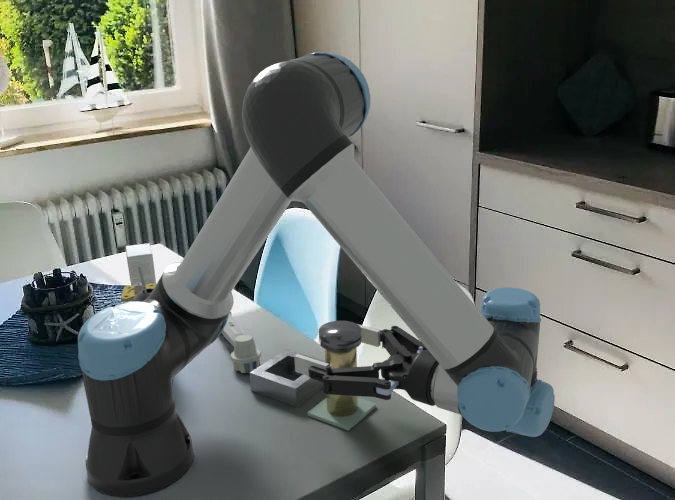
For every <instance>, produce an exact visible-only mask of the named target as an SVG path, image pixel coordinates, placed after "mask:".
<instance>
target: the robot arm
mask: <svg viewBox="0 0 675 500" xmlns="http://www.w3.org/2000/svg"><path fill="white" fill-rule="evenodd" d="M367 81H368V80H367V79H366V77H365V75H364V74H363V72H362V71H361V70H360V68H359V66H357V65H356V64H355V63H354V62H353V61H351V60H350V59H348V58H347V57H345V56H342V55H340V54H337V53H331V52H321V51H319V52H318V51H317V52H312V53H307V54H306V55H304V56H301V57H298V58H293V59H290V60H286V61H281V62H277V63H274V64H272V65H270V66H267V67H265V68H264V69H263V70H262V71H260V72H259V73H258V74H257V75H256V76H255V77H254V79H252V81H251V83H250V84H249V85H248V87H247V90H246V92H245V94H244V98H243V101H242V106H241V119H242V126H243V131H244V134H245V136H246V139H247V142H248V145H249V146H250V147H249V150H247V153H246V155H244V158H243V159H242V160H241V163H240V164H239V166H238V168H237V169H236V171H235V173H234V174H233V176H232V178H231V179H230V181H229V182H228V184H227V186H226V188H225V189H224V191H223V193H222V194H221V196H220V198H219V199H218V201H217V203H216V204H215V206H214V208H213V209H212V211H211V213H210V214H209V216H208V218H207V219H206V221H205V222H204V224H203V226H202V228H201V229H200V231H199V233H198V235H197V236H196V237H195V239H194V241H193V242H192V244H191V246H190V247H189V249H188V250H187V252H186V254H185V255H184V258H183V259H182V261H177V262H173V263H171V264H169V265H168V266H167V267H166V268H165V270H164V271H163V272H162V274H161V276H160V277H159V280H158V281H157V282H156V286H155V288H154V289H153V291H152V292H151V294H150V295H149V296H148V297H147V298H146V299H145V300H144V301H143V302H139V301H133V300H132V301H133V302H132V301H125V302H121V303H117V304H115V306H113V307H110V306H108V307H105V308H103V309H101V310H99V311H98V312H96V313H94V314H93V315H92V316H90V317H89V318H88V319H87V320H86V321H85V322H84V323H83V324H82V326H81V327H80V329H79V331H78V335H77V345H78V346H77V349H78V357H77V358H78V363H79V364H78V365H79V367H80V370H81V374H82V376H81V377H82V381H83V386H84V391H85V397H86V402H87V407H88V412H89V417H90V421H91V422H90V423H91V431H90V437H89V441H88V443H89V444H88V451H87V452H86V457H85V468H86V469H85V470H86V475H87V479H88V482H89V484H90V485H91V487H92V488H94V489H95V490H97V491H98V492H100V493H102V494H105V495H108V496H114V497H121V498H122V497H123V498H124V497H136V496H143V495H148V494H151V493H154V492H157V491H160V490H162V489H165V488H167V487H168V486H170V485H172V484H173V483H175V482H176V481H178V480H179V479H181V478H182V477H183V476H184V475H185V474H186V473H187V472H188V470H189V469H190V467H191V466H192V464H193V462H194V456H195V454H194V453H195V452H194V445H193V440H192V437H191V434H190V433H189V431H188V429H187V427H186V425H185V423H184V421H183V420H182V418H181V416H180V415H179V413H178V411H177V408H176V401H175V396H174V389H173V388H174V386H173V379H174V378H175V377H176V376H177V375H179V373H180V372H182V370H184V369H185V367H187V365H189V364H190V363H191V362H192V361H193V360H194V359H196V357H197V356H199V355H200V353H202V352H203V351H204V350H205V349H206V348H207V347H209V346H210V345H211V344H213V343H214V342H215V341H216V340H217V339H219V336H221V335H222V333H221V332H222V331H223V329H224V327H225V325H226V323H227V321H228V317H229V312H232V309H233V306H234V295H233V292H232V291H233V290H234V289H235V286H237V284H238V283H239V281H240V280H241V278H242V276H243V275H244V274H245V272H246V270H247V269H248V267H249V266H250V264H251V263H252V261H253V260H254V259H255V257H256V255H257V253H258V252H259V251H260V249H261V247H262V246H263V245H264V243H265V242H266V240H267V238H269V235H270V234H271V233H272V231H273V230H274V229H275V227H276V225H277V224H278V222H279V221H280V219H281V218H282V216H283V214H284V213H285V211H286V210H287V208H288V207H289V206H290V204H291V202H299V203H300V202H301V203H303V204H304V205H305V206H306V208H307V209H308V210H309V212H311V214H312V215H313V216H314V217H315V218H316V220H317V221H318V222H319V223H320V224H321V225H322V226H323V228H324V229H325V230H326V231H327V232H328V234H329V235H330V236H331V237H332V238H333V239H334V241H335V242H336V243H337V244H338V245H339V247H340V248H341V250H343V252H344V253H345V254H346V255H347V256H348V258H349V259H351V261H352V262H353V263H354V264H355V266H356V267H357V268H358V269H359V270H360V271H361V273H362V274H363V275H364V276H365V277H366V278H367V280H368V281H369V282H370V283H371V285H372V286H373V287H374V288H375V290H376V291H378V293H379V294H380V295H381V296H382V297H383V299H384V300H385V301H386V302H387V304H388V305H390V307H391V308H392V309H393V310H394V311H395V312H396V314H397V315H398V317H400V319H401V320H402V321H403V322H404V323H405V324H406V326H407V327H408V328H409V329H410V331H411V332H412V333H413V334H414V335H415V336H413V335H411V334H410V333H408V332H407V331H406V330H404V329H403V328H401V327H399V326H397V325H392V326H391V327H390V328H391V329H387V328H384V329H378V328H374V327H370V326H365V325H362V324H358V323H357V324H358V325H359V326H360V327H361V344H366V345H368V346H369V345H370V346H372V347H375V348H376V347H377V348H378V347H380V346H381V348H382V349H385V351H387V353H388V354H389V356H388V358H387V359H385V360H384V361H381V362H375V363H374V362H373V364H372V365H366V366H364V365H363V366H357V367H349V368H334V369H332V365H331V364H328V363H324V362H321V361H318V360H315V359H312V358H309V357H305V356H302V355H299V354H297V355H295V356H294V359H295V372H298V373H301V374H304V375H307V376H309V377H310V378H312V379H315V380H318V381H321V382H323V388H322V390H323V394H324V395H326V394H331V395H348V396H358V397H366V398H367V397H368V398H370V397H372V398H377V399H380V400H384V401H390V400H391V398H392V392H393V391H394V390H403V391H405V392H406V394H407V395H408V397H409V398H410V399H412V400H413V401H415V402H418V403H421V404H425V405H428V406H431V407H434V406H435V407H436V408H438V409H442V410H445V411H448V412H450V413H451V412H452V413H454V414H458V415H461V416H462V417H463V418H464V419H465V420H466V421H467V422H468V424H470V425H472V426H473V427H475V428H477V429H480V430H482V431H486V432H492V433H493V432H502V431H506V432H507V433H509V432H510V433H513V434H518V435H520V436H527V437H530V438H536V437H540V436H541V435H542V434H543V433H545V431H546V430H547V428H548V426H549V424H550V422H551V419H552V415H553V411H554V406H555V396H556V395H555V393H554V391H555V390H554V387H553V386H552V385H551V384H550V383H548V382H546V381H544V380H542V379H538V368H537V363H538V362H537V361H538V353H539V344H540V343H539V341H540V328H541V322H542V318H541V302H540V299H539V298H538V296H537V295H535V294H534V293H533V292H531V291H529V290H526V289H522V288H520V287H506V286H505V287H498V288H493V289H491V290H488V291H487V292H485V293H484V295H483V296H482V298H481V307H480V309H479V308H478V307H477V305H475V303H473V301H472V300H471V298H470V297H468V295H467V294H466V293H465V292H464V290H463V289H462V287H461V286H460V285H459V284H458V283H457V282H456V280H455V279H454V278H453V277H452V276H451V274H450V273H449V272H448V270H447V269H446V268H445V267H444V266H443V265H442V264H441V262H440V260H438V259H437V257H436V256H435V255H434V254H433V253H432V251H431V250H430V249H429V248H428V247H427V246H426V244H425V242H424V241H423V240H422V239H421V238H420V237H419V236H418V235H417V233H416V231H414V230H413V229H412V227H411V226H410V225H409V224H408V222H407V221H406V220H405V219H404V218H403V216H402V215H401V214H400V213H399V212H398V210H397V209H396V208H395V207H394V205H392V203H391V202H390V200H389V199H388V198H387V197H386V196H385V195H384V193H382V191H381V190H380V189H379V187H378V186H377V184H375V183H374V181H373V180H372V179H371V178H370V177H369V175H368V174H367V173H366V172H365V171H364V169H363V168H362V167H361V166H360V165H359V163H358V162H357V161H356V159H355V144H354V143H353V142H352V141H351V140H350V137H351V136H353V135H355V134H356V133H357V132H359V131H360V130H361V128H362V127H363V125H364V123H365V122H366V120H367V118H368V115H369V112H370V109H371V94H370V88H369V84H368V82H367ZM335 375H336V376H335ZM380 376H381V377H380Z"/></svg>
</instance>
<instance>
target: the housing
mask: <svg viewBox="0 0 675 500" xmlns="http://www.w3.org/2000/svg"><path fill="white" fill-rule="evenodd" d="M297 354H299V355H302V356H305V357H309V358H312V359H315V360H318V361H321V362H324V363H325V360H323V359H319V358H317V357H314V356H310V355H307V354H304V353H300V352H298V351H294V350H291V349H287V348H286V349H285V350H283V351H281V352H280V353H278V354H276V355H275V356H273V357H272V358H270V359H268V360H267V361H266V362H263V363H262V364H260V366H259V367H258V368H256V369H254V370H253V371H251V372H250V373H249V382H250V391H251V392H254V393H257V394H260V395H262V396H264V397H268V398H269V399H273V400H276V401H279V402H281V403H284V404H287V405H290V406H291V407H292V406H293V407H295V408H298V407H299V406H301V405H303V404H304V402H306V401H307V400H309V399H310V398H312V396H314V395H315V394H316V393H318V392H320V391H321V390H323V382H321V381H318V380H315V379H312V378H310V377H309V376H307V375H304V374H301V373H298V372H295V359H294V356H295V355H297ZM288 374H292V375H294V376H298V378H296V379H295V380H291V379H288V378H286V377H285V376H286V375H288Z"/></svg>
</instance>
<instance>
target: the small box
mask: <svg viewBox="0 0 675 500" xmlns="http://www.w3.org/2000/svg"><path fill="white" fill-rule="evenodd" d="M125 252H126V260H127V261H126V262H127V268H128V275H129V281H130V286H134V284H135V283H137V282H140V283H142V282H141V278H140V274H139V270H138V266H141V270H142V274H143V278H144V282H145V285H146V284H150V283H155V284H157V280H156V272H155V265H154V256H153V252H152V248H151V243H150V242H149V243H142V244H133V245H126V246H125Z"/></svg>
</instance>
